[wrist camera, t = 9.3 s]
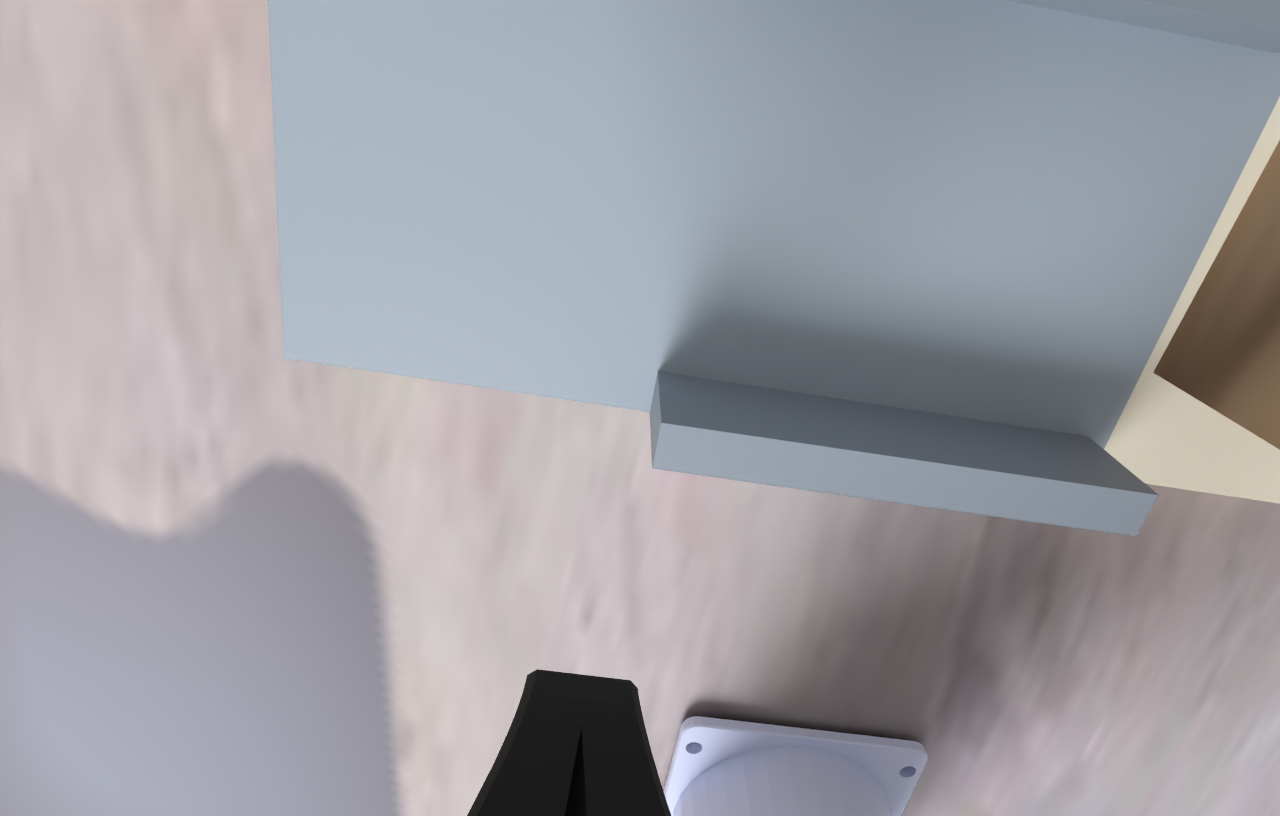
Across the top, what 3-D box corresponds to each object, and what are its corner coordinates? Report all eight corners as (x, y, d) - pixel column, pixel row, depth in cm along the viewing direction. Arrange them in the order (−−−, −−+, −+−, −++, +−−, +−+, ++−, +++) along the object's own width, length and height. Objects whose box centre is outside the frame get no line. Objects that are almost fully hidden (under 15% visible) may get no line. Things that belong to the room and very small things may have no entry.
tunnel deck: (1593, 519, 20) (1833, 634, 16) (320, 327, 18) (225, 408, 14) (1921, 140, 16) (2357, 168, 12) (308, -187, 13) (166, -291, 9)
